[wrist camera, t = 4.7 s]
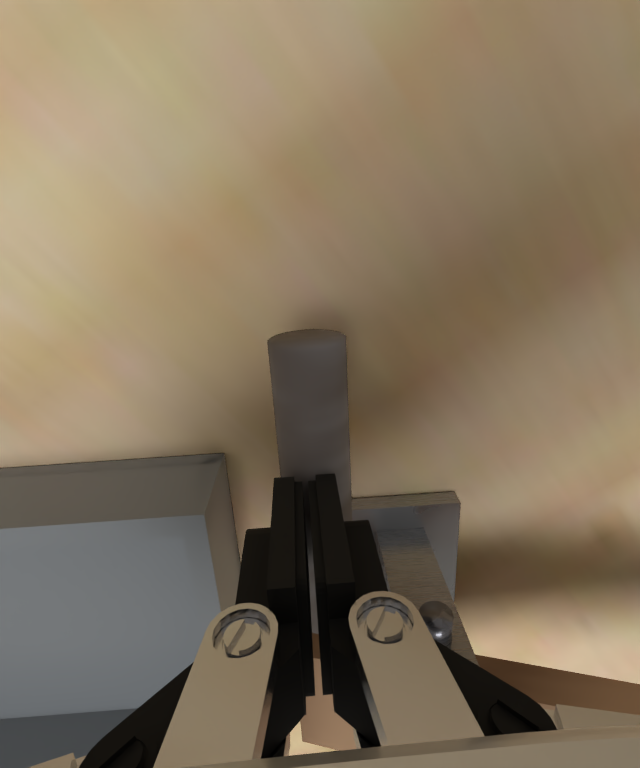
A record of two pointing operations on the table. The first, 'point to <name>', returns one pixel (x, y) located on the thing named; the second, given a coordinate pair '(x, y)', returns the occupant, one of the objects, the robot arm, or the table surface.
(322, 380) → the lever
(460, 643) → the fulcrum
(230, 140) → the table surface
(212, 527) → the bin
